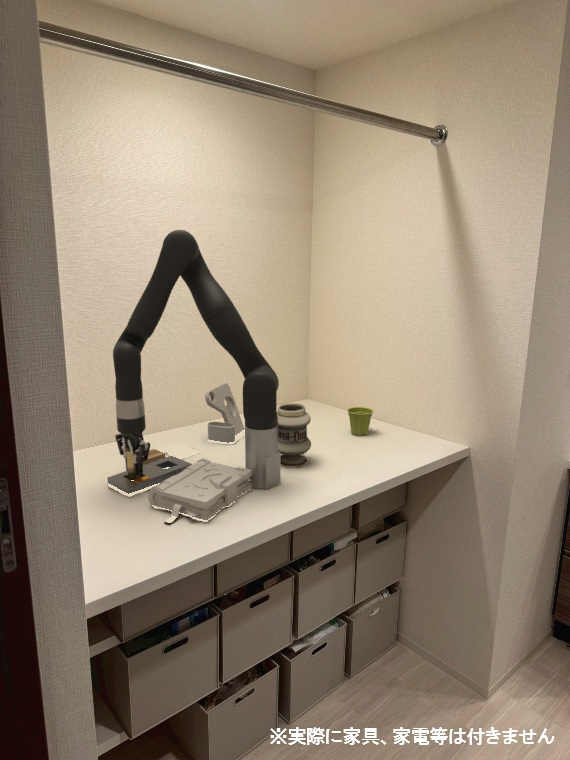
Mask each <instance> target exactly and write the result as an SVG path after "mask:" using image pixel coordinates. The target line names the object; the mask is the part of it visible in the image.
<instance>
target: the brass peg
mask: <svg viewBox="0 0 570 760" xmlns="http://www.w3.org/2000/svg"><path fill="white" fill-rule="evenodd" d="M138 450H139V449H138ZM138 450H135V451H138ZM126 454H127V468H128V478H129V479H131V480H136V479H138V478H141V475H138V476H137V475H135V470H134V459H133V455H131V452H130V449H129V450H126ZM138 455H139V454H137V458H138Z"/></svg>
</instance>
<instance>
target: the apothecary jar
mask: <svg viewBox="0 0 570 760" xmlns="http://www.w3.org/2000/svg"><path fill="white" fill-rule="evenodd" d="M277 416H278V451H279V452H280V453H281V466H282V467H287V468H298V467H302V466H304V465H306V464H307V463H308V459H307V457H305V455H304V454H306V453H307V452H308V451H310V450H311V448H312V441H311V439H310V438H309V437H308V431H307V430H308V429H307V428H308V427H307V426H308V425H309V424H310V423H311V419H312V418H311V416H310V414H309V413H308V412H307V411H306V406H305V405H303V404H301V403H295V402H294V403H293V402H292V403H291V402H289V403H282V404H280V405H278V406H277Z"/></svg>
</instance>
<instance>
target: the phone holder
mask: <svg viewBox="0 0 570 760" xmlns="http://www.w3.org/2000/svg"><path fill="white" fill-rule="evenodd" d="M204 399H205V403H206V405H207V406H208V407H210V408H212V409H213V410H215V411H217V412H219V413H220V414H221V416H222V418H223V421H224V422H222V421H221V422H220V421H210V422H209V423H207V439H209V440H214V441H220V442H227V443H229V442H234V441H235V435H237V434H238V433H240V432H241V431H242V430H244V429H245V425H244V424H243V421H242V418H241V415H240V413H239V412H240V411H239V410H238V406H237V403H236V401H235V398H234V395H233V392H232V390H231V387H230V384H228V383H227V382H225V383H221V384H220V385H218V386H216V387H214V388H212V389H210V390H208V391H205V393H204ZM225 401H226V405H225Z"/></svg>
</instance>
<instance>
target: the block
mask: <svg viewBox="0 0 570 760" xmlns="http://www.w3.org/2000/svg"><path fill="white" fill-rule="evenodd" d="M143 457H144V456H143ZM163 458H166V454H165V453H163V452H160V451H158V450H157V449H155V448H152V449H150V450H149V455H148V460H147V461H144V462H143V465H145V464H148V463H151V462H154V461H157V460H160V459H163Z"/></svg>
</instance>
